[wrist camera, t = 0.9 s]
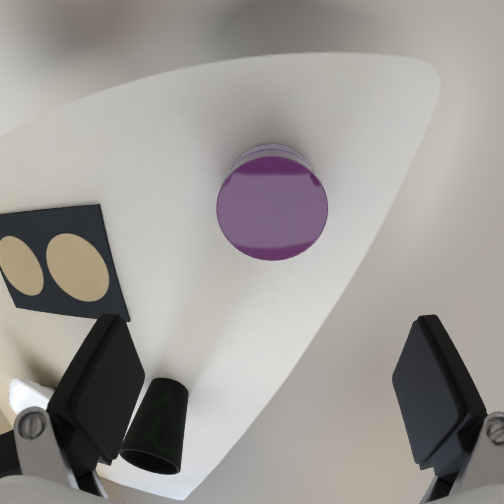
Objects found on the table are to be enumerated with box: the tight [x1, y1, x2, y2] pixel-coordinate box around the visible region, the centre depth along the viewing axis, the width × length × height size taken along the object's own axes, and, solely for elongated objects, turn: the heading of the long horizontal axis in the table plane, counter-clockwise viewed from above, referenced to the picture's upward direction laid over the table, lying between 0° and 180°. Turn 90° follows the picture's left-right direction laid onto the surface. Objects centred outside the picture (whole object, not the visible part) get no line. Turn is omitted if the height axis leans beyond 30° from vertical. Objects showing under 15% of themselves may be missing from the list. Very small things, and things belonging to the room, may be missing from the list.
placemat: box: [0, 204, 130, 322], centre depth 30 cm, size 14×20×1 cm
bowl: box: [9, 377, 55, 414], centre depth 44 cm, size 22×23×6 cm
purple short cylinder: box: [216, 150, 328, 261], centre depth 21 cm, size 7×7×3 cm
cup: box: [119, 378, 189, 475], centre depth 34 cm, size 8×8×12 cm
